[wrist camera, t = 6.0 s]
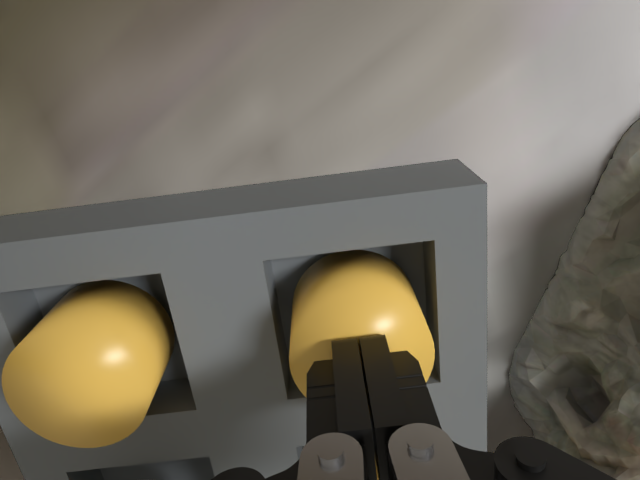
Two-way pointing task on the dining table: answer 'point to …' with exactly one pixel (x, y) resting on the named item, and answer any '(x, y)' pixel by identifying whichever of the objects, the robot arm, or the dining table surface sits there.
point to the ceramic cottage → (591, 332)
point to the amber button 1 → (90, 365)
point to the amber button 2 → (355, 310)
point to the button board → (250, 307)
